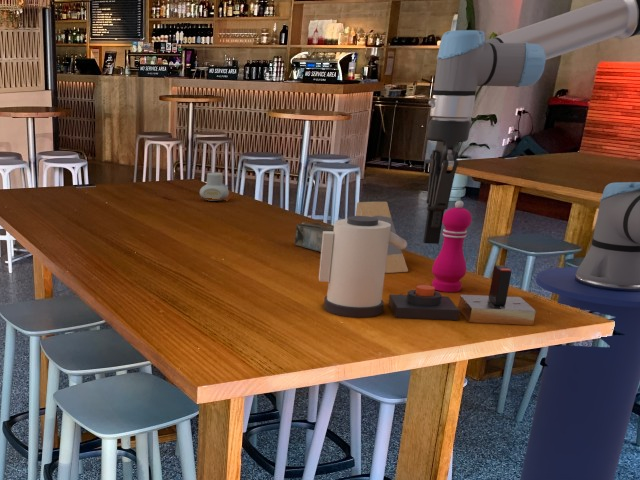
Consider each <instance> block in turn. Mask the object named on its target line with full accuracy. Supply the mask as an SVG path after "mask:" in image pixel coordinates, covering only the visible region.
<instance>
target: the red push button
mask: <svg viewBox="0 0 640 480" xmlns="http://www.w3.org/2000/svg"><path fill="white" fill-rule="evenodd" d="M415 290H416V293H415V294H416V295H420V296H434V291H436V290H435V287H433V286H432V285H429V284H417V285H416V287H415Z"/></svg>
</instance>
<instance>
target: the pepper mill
mask: <svg viewBox="0 0 640 480" xmlns="http://www.w3.org/2000/svg"><path fill="white" fill-rule="evenodd" d="M472 221H473V220H472V214H471V212H470V211H469V210H468V209H466V208H464V202H463V200H456V202H455V203H454V207H451V208H449V209H446V211H444V214H443V220H442V225H443V226H444V228H442V229H443V230H442V231H443V232H442V234H441V235H442V237H443V243H442V247H441V249H440V251H439V253H438V255H437V257H436V258H435V260H434V262H433V264H432V268H431V273H432V275H433V276H434V279H432V282H431V286H433V287H435V291H436V292H443V293H457V292H460V291H461V289H462V284H463V283H462V281H461V280H462V279H463V278H464V277H465V276H466V273H467V263H466V259H465V255H464V240H465V238H466V237H467V233H468V230H467V229H468V228H469V226H471V224H472Z"/></svg>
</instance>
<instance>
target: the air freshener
mask: <svg viewBox="0 0 640 480" xmlns="http://www.w3.org/2000/svg"><path fill="white" fill-rule="evenodd" d="M223 180H224V174H223V173H222V172H208V173H207V174H206V184H205V185H203V186H202V187H201V188H200V189H199V196H200V198H202V197H203V198H212V199H222V200H208V199H204V201H207V200H208V201H207V202H209V201H218V202H222V201H224V200H225V199H227V198H228V197H229V196H230V195H229V194H230V191H229V189H228V187H227V186H226V185H224V184H223V182H224V181H223ZM203 198H202V199H203ZM223 198H225V199H223Z"/></svg>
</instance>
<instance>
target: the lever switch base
mask: <svg viewBox="0 0 640 480" xmlns="http://www.w3.org/2000/svg"><path fill="white" fill-rule="evenodd" d="M457 308H458V309H459V313H461V314H462V315H463V316H464V318H465V319H466V320H467V321H468V323H471V324H472V323H473V324H474V323H475V324H498V325H517V326H518V325H520V326H521V325H522V326H534V322H535V317H536V311H537V310H536V309H535V308H534V307H533V306H531V304H529V303H528V302H527V301H525V300H524V299H523V298H522V297H521V296H507V299H506V304H505V306H502V305H494V304H493V303H492V302H491V300H490V299H489V295H483V294H482V295H481V294H480V295H479V294H478V295H477V294H459V299H458V304H457Z"/></svg>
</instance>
